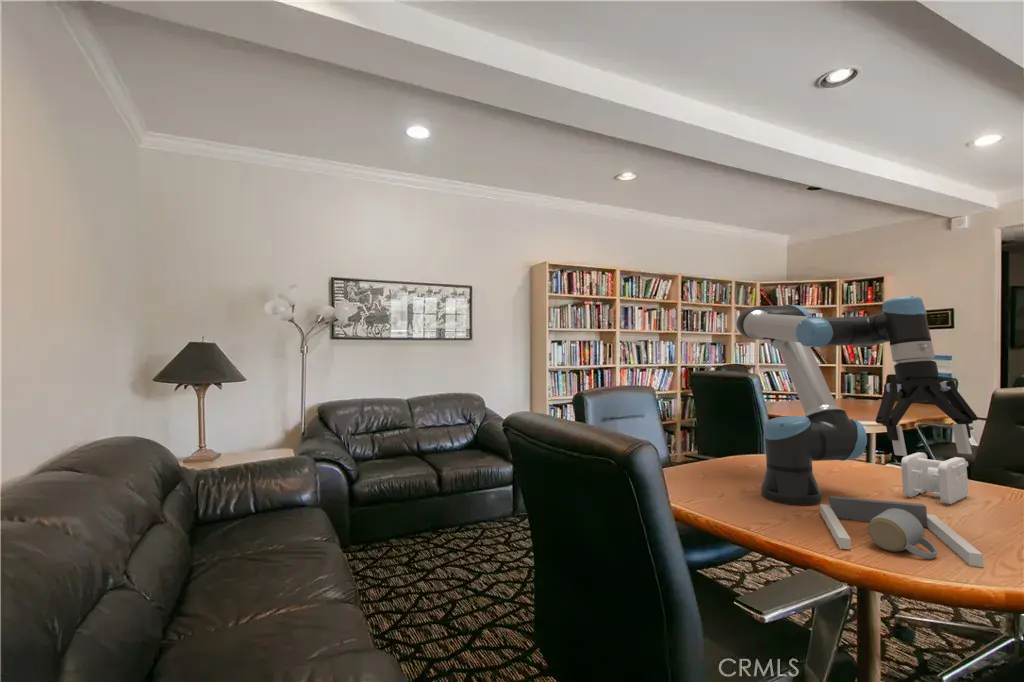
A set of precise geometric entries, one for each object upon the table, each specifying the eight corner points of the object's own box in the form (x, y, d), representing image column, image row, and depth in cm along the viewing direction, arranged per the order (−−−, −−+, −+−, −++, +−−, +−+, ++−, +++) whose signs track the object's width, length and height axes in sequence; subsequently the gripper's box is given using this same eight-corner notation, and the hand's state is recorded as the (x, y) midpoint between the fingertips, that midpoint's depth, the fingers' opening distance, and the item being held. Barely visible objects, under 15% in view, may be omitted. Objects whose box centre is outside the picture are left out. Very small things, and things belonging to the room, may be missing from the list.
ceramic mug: (865, 546, 99) (864, 510, 99) (882, 537, 103) (881, 503, 103) (928, 565, 90) (926, 526, 90) (944, 555, 94) (942, 518, 94)
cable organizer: (923, 489, 137) (921, 450, 138) (971, 498, 128) (968, 456, 129) (902, 498, 130) (899, 457, 130) (951, 508, 121) (948, 464, 121)
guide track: (840, 549, 98) (838, 525, 98) (820, 513, 120) (819, 494, 120) (983, 567, 88) (981, 541, 88) (934, 525, 109) (932, 504, 110)
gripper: (869, 361, 104) (886, 457, 100) (986, 356, 102) (1008, 453, 98) (848, 366, 111) (863, 455, 107) (956, 361, 109) (976, 451, 105)
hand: (932, 454), depth 102 cm, fingers open, 13 cm apart
